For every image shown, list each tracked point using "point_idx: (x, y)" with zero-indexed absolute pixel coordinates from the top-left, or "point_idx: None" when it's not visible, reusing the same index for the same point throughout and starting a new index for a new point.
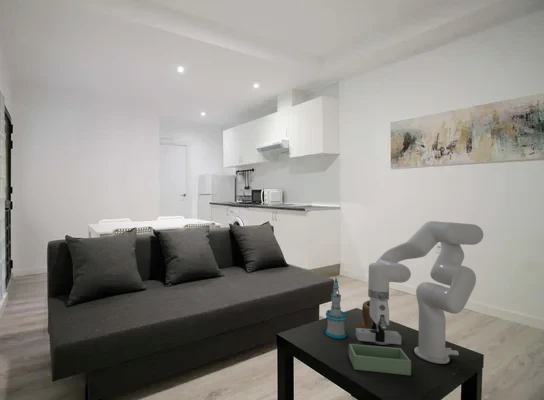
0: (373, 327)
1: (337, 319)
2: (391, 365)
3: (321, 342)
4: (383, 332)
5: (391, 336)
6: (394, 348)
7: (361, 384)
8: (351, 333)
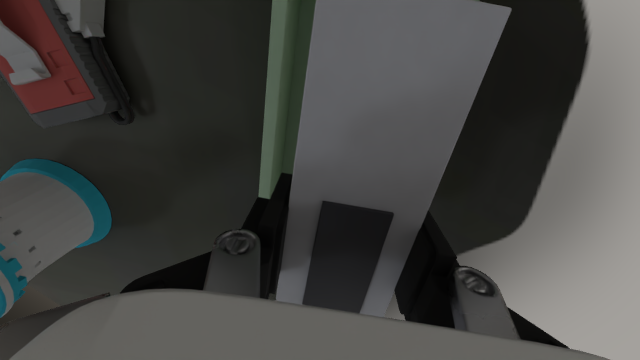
0: (277, 279)
1: (6, 286)
2: None
3: None
4: (477, 285)
5: (449, 149)
6: (286, 10)
7: (457, 253)
8: (11, 124)
